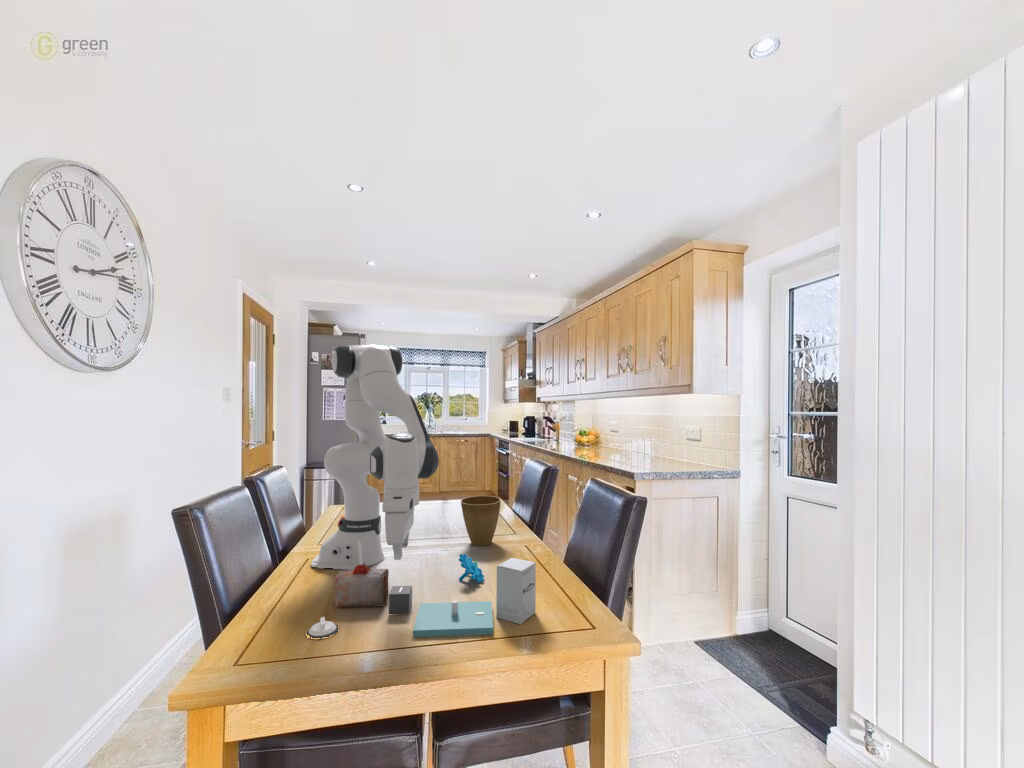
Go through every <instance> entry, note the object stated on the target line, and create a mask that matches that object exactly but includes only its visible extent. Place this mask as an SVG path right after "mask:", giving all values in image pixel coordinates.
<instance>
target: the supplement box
mask: <svg viewBox="0 0 1024 768" xmlns="http://www.w3.org/2000/svg"><path fill="white" fill-rule="evenodd" d="M536 563H537V562H535V561H529V560H525V559H520V558H515V557H511V558H509V559H506V560H505V561H503V562H502V563H500V564H498V565H496V607H495V609H496V612H495V613H496V615H495V616H496V618H498V619H501V620H504V621H508V622H511V623H515V624H519V625H522V624H523V623H524V622H526V620H528V619H529V618H530V617H531V616H533V615H534V614H536V606H537V605H536V594H537V593H536V589H537V585H536V584H537V583H536V580H537V579H536V572H537V571H536V568H537V567H536V565H537V564H536Z"/></svg>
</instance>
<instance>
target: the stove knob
mask: <svg viewBox="0 0 1024 768" xmlns="http://www.w3.org/2000/svg"><path fill="white" fill-rule="evenodd" d="M335 624H336V623H334V622H333V621H330V620H326V617H325V616H322V617H320V618H319V621H318V622H317V623H314V624H313V625H312V626H311V627H310V628H308V629H307V630H309V631H306V632H307V635H309V636H310V638H311V637H312V638H320V639H321V638H323V637H329V636H330V635H333V634H335V633H336V632H338V629H339V630H340V627H339V628H338V626H339V625H337V624H336V625H335ZM338 633H339V632H338ZM335 635H336V634H335Z"/></svg>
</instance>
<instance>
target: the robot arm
mask: <svg viewBox="0 0 1024 768" xmlns="http://www.w3.org/2000/svg"><path fill="white" fill-rule="evenodd" d="M330 360H331V368H332V370H333V372H334V375H336V376H337V377H339V378H341V379H342V378H343V379H346V384H345V391H344V392H345V395H344V398H345V399H344V409H345V410H344V411H345V412H344V414H345V415H344V421H345V425H346V426H347V427H348V428H349V429H350V430H352V431H354V432H356V434H357V436H358V437H359V442H349V443H348V442H347V443H346V442H345V443H341V444H338V445H335V446H333V447H329V448H328V450H327V451H326V453H325V455H324V458H323V466H324V469H325V472H326V473H327V474H328V475H329V476H331V478H333V479H334V480H336V481H337V482H338V485H340V487H341V490H342V493H343V498H344V499H343V500H344V501H343V502H344V515H342V516H341V517H340V519H339V520H338V522H337V527H338V530H336V531H335V532H334V533H332V534H330V535H329V536H328V538H326V539H325V540H324V541H323V542H322V544H321V545H320V549H319V554H317V556H315V557H314V558H313V559H312V561H311V564H310V565H311V568H312V567H318V568H317V569H324V568H333V569H332V570H344V571H346V570H354V568H355V566H357V565H359V564H360V565H362V564H363V563H364V562H365V564H366V566H369V567H370V566H373V565H376V564H378V563H380V562H382V561H383V560H384V558H385V556H384V551H383V548H382V540H381V531H382V518H381V517H382V516H381V514H380V509H381V508H380V504H381V503H380V502H381V501H380V498H381V496H380V492H379V491H378V490H377V489H376V488H375V487H373V486H372V485H369V484H368V482H367V475H372V476H373V478H375V479H377V480H380V481H384V483H383V501H382V509H381V510H382V513H384V528H385V529H384V530H385V538H386V543H387V545H388V546H392V551H393V559H394V560H395V561H400V560H401V559H402V558H403V549H404V548H407V547H408V546H409V536H410V531H411V528H412V527H413V525H414V522H415V521H414V520H415V516H414V515H415V514H414V512H415V506H418V505H420V482H419V480H420V479H421V480H422V479H423V480H424V479H425V480H427V479H429V478H431V476H433V475H434V474H435V472H436V471H437V469H438V468H439V463H440V462H439V461H440V460H439V454H438V451H437V449H436V447H435V445H434V444H433V441H431V439H430V436H429V434H428V431H427V429H426V426H425V423H424V420H423V418H422V416H421V415H422V414H421V413H420V409H419V408H418V405H417V403H416V401H415V400H414V398H413V396H412V395H410V394H409V393H407V392H406V390H404V389H403V387H402V386H401V384H400V382H399V379H398V376H399V375H400V374H401V372H402V368H403V363H404V362H403V361H404V360H403V356H402V352H401V351H400V350H399V348H397V347H393V346H391V345H389V346H384V345H379V344H378V345H376V344H356V345H355V344H353V345H349V344H343V345H339V346H337V347H336V348H335V349H334V351H333V354H332V356H331V359H330ZM380 412H382V413H385V414H389V415H392V416H394V417H396V418H398V419H400V420H401V421H402V422H403V423H404V425H405V427H406V429H407V432H408V433H404V432H396V433H391V434H389V435H388V436H386V434H385V432H384V430H383V427H382V423H381V413H380Z"/></svg>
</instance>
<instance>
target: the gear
mask: <svg viewBox="0 0 1024 768" xmlns="http://www.w3.org/2000/svg"><path fill="white" fill-rule="evenodd" d="M458 556H459V559H458V561H459V562H460V567H461V568H464V569H465V570H464V573H463V574H461V575H460V577H459V578H458V581H459V582H462V581H463V580H464V579H465V578H466V577H468V575H471V576H470V579H471V580H473V581H476V583H478V584H480V583H483V582H484V581H485V579H484V578H485V574H483V570H482V568H479V565H478V561H477V560H475V561H474V560H473V558H472V557H471V556H468V555H467V554H466V553H464V554H463V553H461V554H459V555H458ZM473 561H474V562H473Z"/></svg>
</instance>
